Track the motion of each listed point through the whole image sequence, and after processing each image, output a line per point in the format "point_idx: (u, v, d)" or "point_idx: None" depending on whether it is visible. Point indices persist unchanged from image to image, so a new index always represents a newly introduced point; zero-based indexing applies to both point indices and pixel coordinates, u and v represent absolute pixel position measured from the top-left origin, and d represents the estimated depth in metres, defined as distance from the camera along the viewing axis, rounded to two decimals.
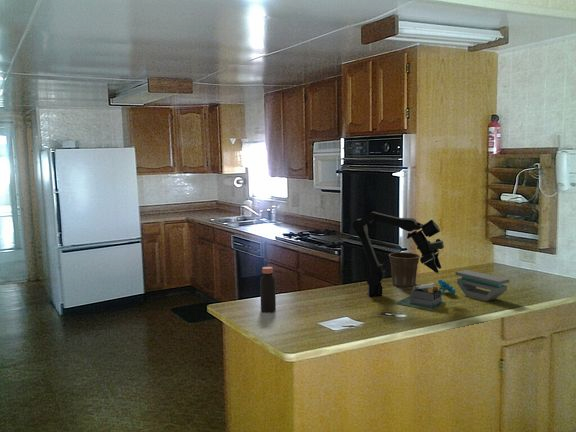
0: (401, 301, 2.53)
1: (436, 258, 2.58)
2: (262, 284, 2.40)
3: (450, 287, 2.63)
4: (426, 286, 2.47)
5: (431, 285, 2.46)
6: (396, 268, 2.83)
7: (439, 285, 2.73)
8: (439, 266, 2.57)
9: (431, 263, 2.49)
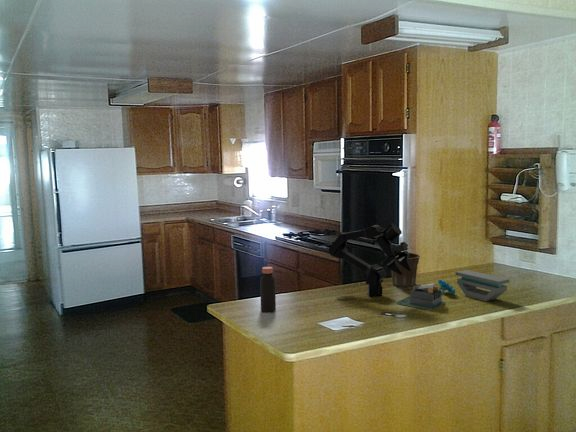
0: (401, 301, 2.53)
1: (405, 261, 2.60)
2: (262, 284, 2.40)
3: (450, 287, 2.63)
4: (426, 286, 2.47)
5: (431, 285, 2.46)
6: None
7: (439, 285, 2.73)
8: (409, 269, 2.59)
9: (394, 266, 2.53)
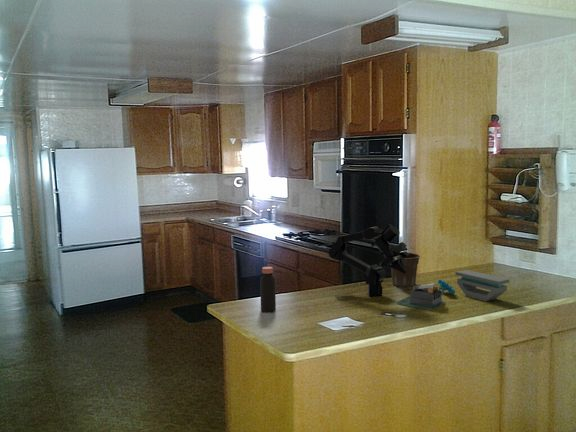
0: (401, 301, 2.53)
1: None
2: (262, 284, 2.40)
3: (449, 287, 2.63)
4: (426, 286, 2.47)
5: (431, 285, 2.46)
6: None
7: (439, 285, 2.73)
8: None
9: (397, 265, 2.56)
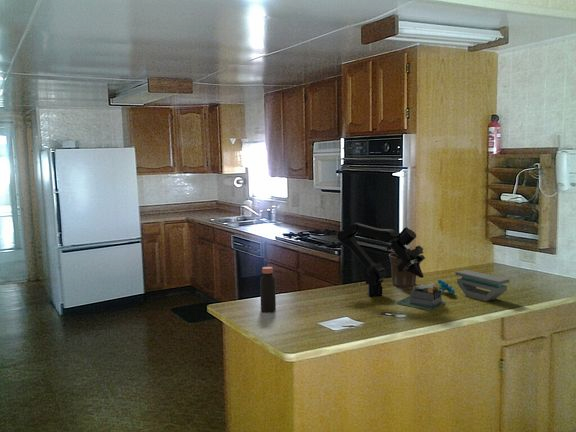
0: (401, 301, 2.53)
1: None
2: (262, 284, 2.40)
3: (449, 287, 2.63)
4: (426, 286, 2.47)
5: (431, 285, 2.46)
6: (396, 268, 2.83)
7: (439, 285, 2.73)
8: None
9: (414, 269, 2.50)
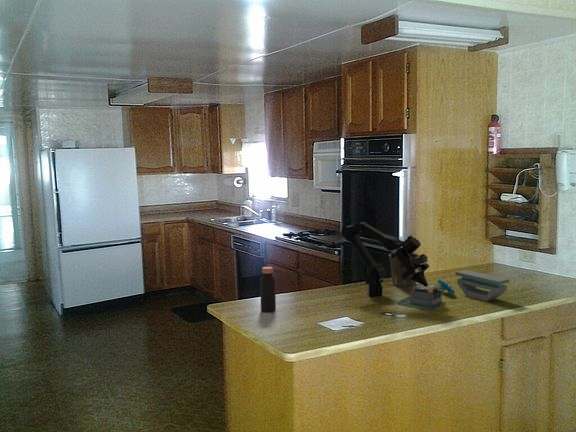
0: (401, 301, 2.53)
1: None
2: (262, 284, 2.40)
3: (449, 287, 2.63)
4: (426, 288, 2.47)
5: (432, 287, 2.45)
6: (396, 268, 2.83)
7: (439, 285, 2.73)
8: None
9: (418, 277, 2.49)
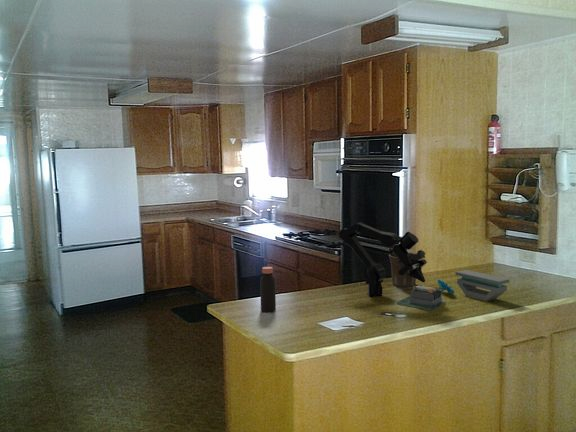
0: (401, 301, 2.53)
1: None
2: (262, 284, 2.40)
3: (448, 287, 2.63)
4: (427, 290, 2.47)
5: None
6: (396, 268, 2.83)
7: (438, 285, 2.73)
8: None
9: (416, 273, 2.50)
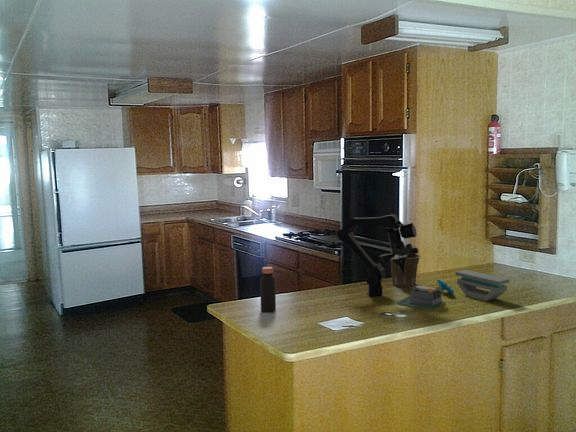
0: (401, 301, 2.53)
1: (401, 261, 2.59)
2: (262, 284, 2.40)
3: (448, 287, 2.63)
4: (427, 290, 2.47)
5: None
6: (396, 268, 2.83)
7: (438, 285, 2.73)
8: None
9: None
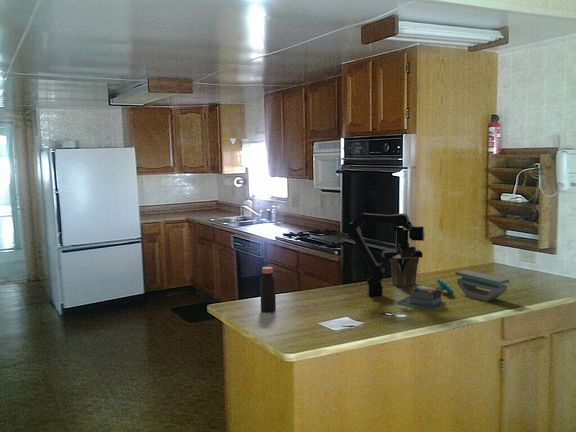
0: (401, 301, 2.53)
1: (403, 261, 2.60)
2: (262, 284, 2.40)
3: (447, 287, 2.63)
4: (427, 290, 2.47)
5: None
6: (396, 268, 2.83)
7: (438, 285, 2.73)
8: None
9: None
